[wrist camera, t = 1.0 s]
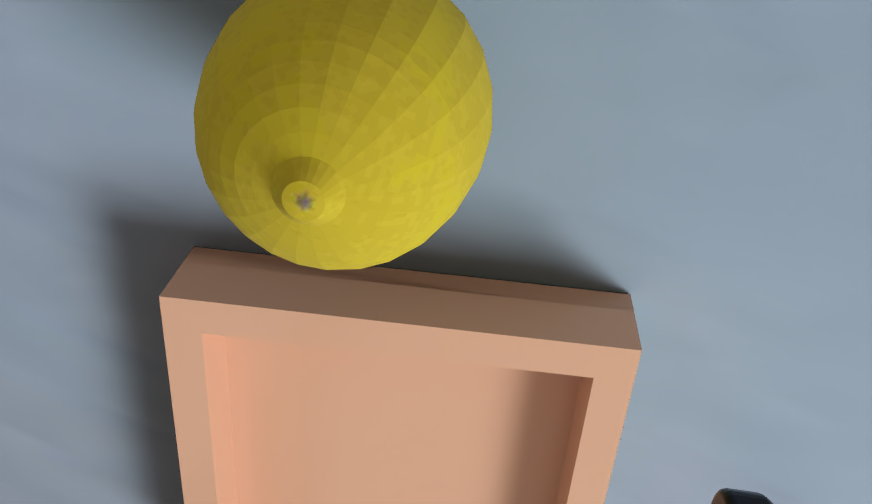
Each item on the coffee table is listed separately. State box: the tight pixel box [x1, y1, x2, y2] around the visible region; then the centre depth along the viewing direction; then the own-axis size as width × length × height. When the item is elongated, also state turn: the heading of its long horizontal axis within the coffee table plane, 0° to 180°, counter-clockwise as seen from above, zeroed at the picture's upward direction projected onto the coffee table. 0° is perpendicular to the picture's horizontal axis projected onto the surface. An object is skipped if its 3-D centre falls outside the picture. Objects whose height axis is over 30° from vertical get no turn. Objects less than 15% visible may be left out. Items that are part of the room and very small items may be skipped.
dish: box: [159, 247, 642, 504], centre depth 24 cm, size 12×12×2 cm
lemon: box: [194, 0, 492, 270], centre depth 16 cm, size 6×6×8 cm
